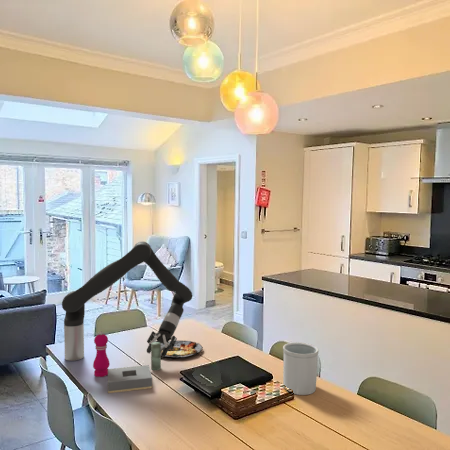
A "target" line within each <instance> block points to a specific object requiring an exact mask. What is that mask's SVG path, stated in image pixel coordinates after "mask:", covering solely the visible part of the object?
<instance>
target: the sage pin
mask: <svg viewBox="0 0 450 450" xmlns="http://www.w3.org/2000/svg"><path fill="white" fill-rule="evenodd" d="M150 354H151V356H150V359H151V362H150V364H151V366H150V370H152V371H159V370H161V369H162V367H161V365H162V364H161V363H162V362H161V361H162V359H161V358H162V357H161V343H159V342H153V343H151V352H150Z"/></svg>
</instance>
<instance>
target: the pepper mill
mask: <svg viewBox="0 0 450 450" xmlns="http://www.w3.org/2000/svg"><path fill="white" fill-rule="evenodd" d="M93 341H94V345H95V350H96V352H95V353H96V355H95V358H94V361H93V364H92V368H93V369H94V370H93V371H94V372H93V374H94V375H93V376H95V377H97V378H103V377H106V376H108V369H109V367H110V365H111V364H110V360H109V358H108V355H107V347H108V345H107V343H108V342H109V337H108V336H107V335H106V334H104V331H103V330H100V331H99V332H98V334H97V335H96V336H95V337H94V339H93Z"/></svg>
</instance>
